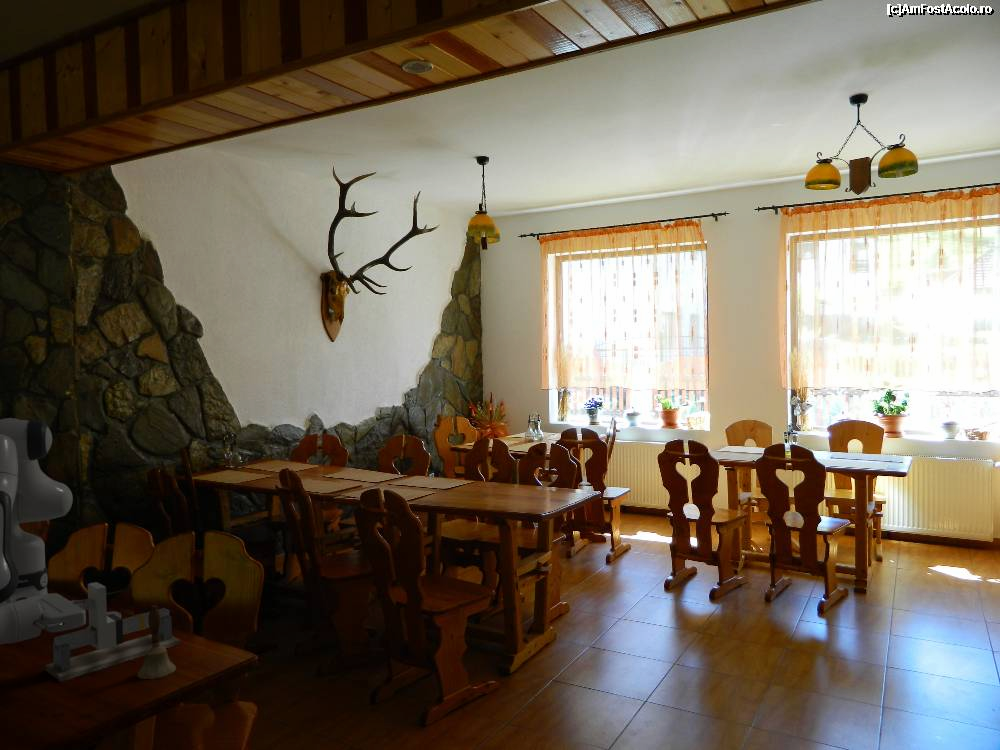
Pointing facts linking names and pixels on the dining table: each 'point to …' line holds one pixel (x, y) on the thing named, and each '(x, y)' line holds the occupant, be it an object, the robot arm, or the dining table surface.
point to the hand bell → (155, 652)
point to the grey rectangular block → (101, 617)
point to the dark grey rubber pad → (118, 628)
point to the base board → (108, 657)
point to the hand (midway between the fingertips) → (92, 603)
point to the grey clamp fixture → (90, 636)
